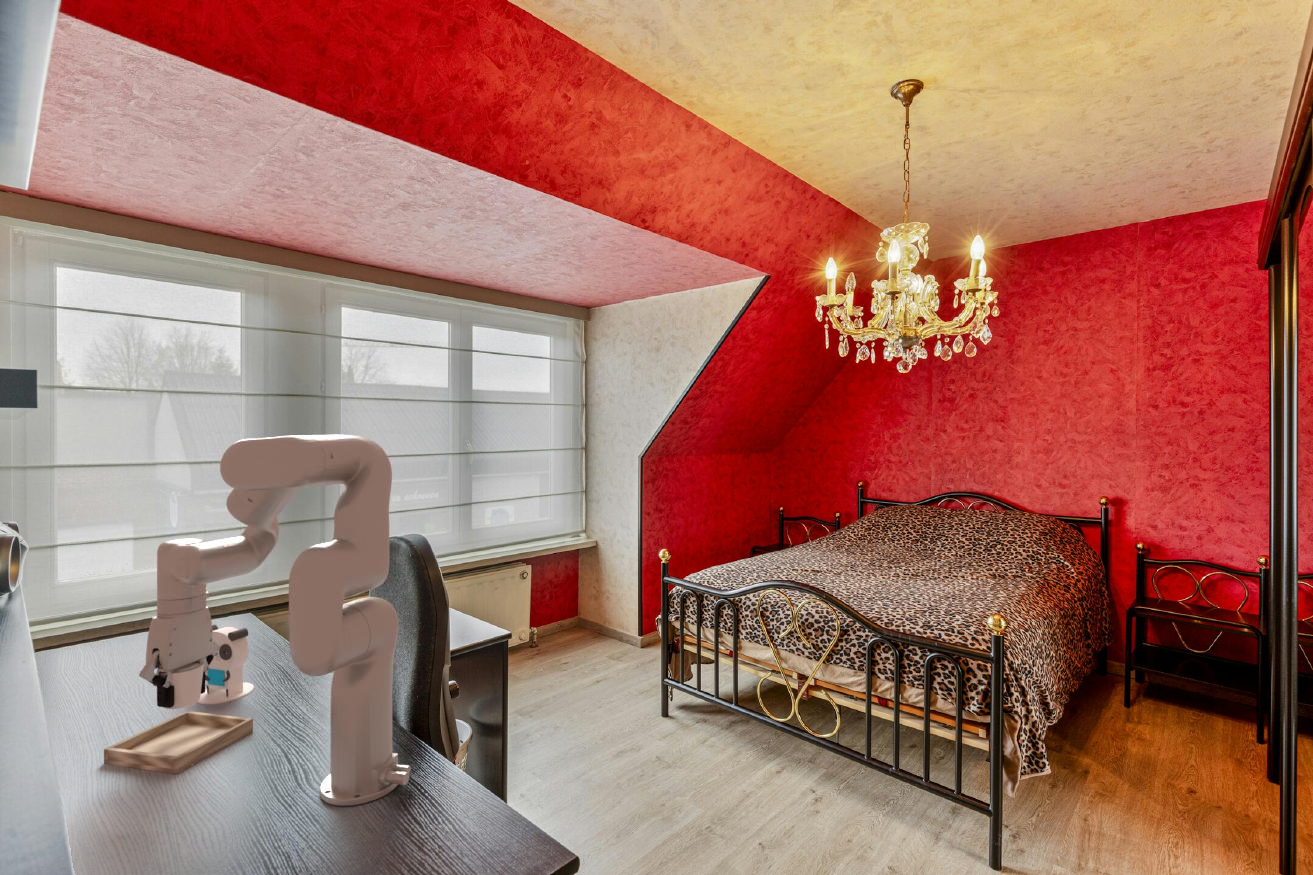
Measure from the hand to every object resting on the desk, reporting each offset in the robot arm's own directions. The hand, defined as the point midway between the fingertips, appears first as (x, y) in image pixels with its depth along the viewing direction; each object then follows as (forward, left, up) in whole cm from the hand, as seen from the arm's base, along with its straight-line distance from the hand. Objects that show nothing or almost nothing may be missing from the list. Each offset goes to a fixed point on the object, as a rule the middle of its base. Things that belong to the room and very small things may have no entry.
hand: (181, 698), depth 119 cm
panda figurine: (+14, -22, -9) cm, 28 cm away
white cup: (0, 0, -1) cm, 1 cm away
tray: (0, 0, -9) cm, 9 cm away
